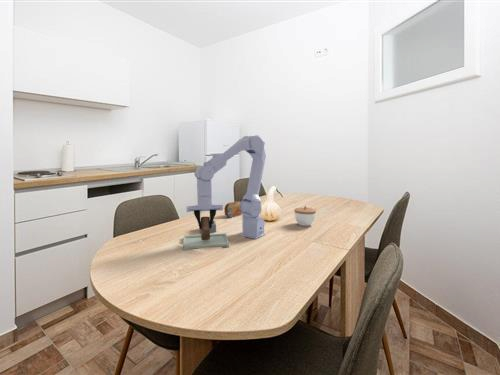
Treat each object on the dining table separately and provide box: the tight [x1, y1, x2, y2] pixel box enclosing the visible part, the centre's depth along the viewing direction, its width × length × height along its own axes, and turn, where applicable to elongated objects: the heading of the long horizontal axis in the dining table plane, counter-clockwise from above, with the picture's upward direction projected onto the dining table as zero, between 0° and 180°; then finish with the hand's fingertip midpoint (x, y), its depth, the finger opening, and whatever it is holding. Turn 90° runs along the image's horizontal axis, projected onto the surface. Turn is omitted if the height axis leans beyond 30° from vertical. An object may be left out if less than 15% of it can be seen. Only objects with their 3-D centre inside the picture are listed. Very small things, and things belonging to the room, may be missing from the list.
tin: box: [223, 200, 242, 219], centre depth 164 cm, size 15×3×8 cm, turn 143°
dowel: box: [200, 216, 211, 240], centre depth 118 cm, size 4×4×9 cm
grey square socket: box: [199, 220, 217, 234], centre depth 134 cm, size 7×7×4 cm
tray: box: [182, 233, 230, 251], centre depth 118 cm, size 18×13×2 cm
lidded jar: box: [294, 206, 317, 227], centre depth 145 cm, size 11×11×9 cm
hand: (205, 228), depth 117 cm, fingers closed on dowel, 4 cm apart
